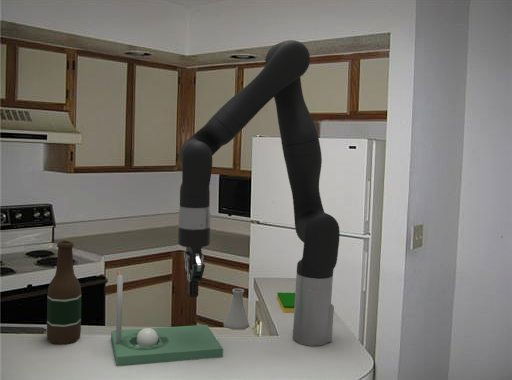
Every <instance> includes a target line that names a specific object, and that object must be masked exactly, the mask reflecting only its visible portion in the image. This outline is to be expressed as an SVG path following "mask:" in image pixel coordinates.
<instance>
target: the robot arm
mask: <svg viewBox="0 0 512 380" xmlns="http://www.w3.org/2000/svg"><path fill="white" fill-rule="evenodd" d="M264 61H265V62H264V67H263V69H262V70H261V71H260V72H259V73H258V74H257V75H256V76H255V78H253V79H252V80H251V81H250V82H249V83H248V84H247V85H246V86H245V87H244V88H242V89H241V90H240V91H238V92H237V93H236V94H234V95H233V96H232V97H231V98H230V99H229V100H227V102H225V103H224V105H222V106H221V107H220V108H219V109H218V110H217V111H216V112H215V113H214V114H213V115H212V117H211V118H210V119H208V121H207V122H206V123H205V125H204V126H202V127H201V128H200V129H198V130H197V132H195V133H194V134H193V135H192V136H190V137H189V138H188V139H187V140H186V141H185V142H184V143H183V144H182V146H181V147H180V149H179V154H178V158H179V161H180V163H181V164H182V166H181V170H182V171H181V172H182V173H181V177H182V178H181V179H182V181H181V184H180V186H179V187H180V188H179V209H178V216H177V217H178V218H177V219H178V222H177V223H178V224H177V226H178V228H177V229H178V230H177V232H178V233H177V237H178V238H177V244H178V245H180V247H183V248H186V249H185V251H184V252H183V260H184V261H183V262H184V268H185V271H184V272H185V276H186V279H187V283H188V284H187V285H188V286H187V295H188V296H189V297H190V298H197V297H199V282H201V281H202V279H203V275H204V271H205V268H206V264H205V263H203V261H204V258H205V257H204V253H203V252H202V249H203V247H208V246H209V245H210V243H211V212H210V211H211V210H210V209H211V207H210V205H211V204H210V200H211V199H210V196H211V195H210V194H211V193H210V184H211V180H212V179H211V177H212V171H213V156H214V155H215V154H216V153H217V152H218V151H219V149H221V148H222V147H223V146H225V145H227V144H228V143H230V142H231V141H232V140H233V139H234V138H235V137H236V136H237V135H238V134H239V133H240V132H241V131H242V130H244V128H245V127H246V126H247V125H248V124H249V123H250V121H251V120H252V119H253V118H254V117H255V116H256V115H257V114H258V113H259V112H260V111H261V110H262V108H264V107H265V106H266V105H267V104H268V103H270V101H271V100H272V99H273V98H274V102H275V103H274V104H275V109H276V115H277V121H278V123H277V124H278V129H279V135H280V140H281V141H280V142H281V147H282V154H283V159H284V163H285V167H286V171H287V178H288V182H289V185H290V191H291V195H292V204H293V213H294V214H293V217H294V218H293V219H294V227H295V232H296V235H297V237H298V238H299V240H300V241H301V242H302V243H303V250H302V258H301V259H300V260H299V261H298V262H297V264H296V275H295V276H296V277H295V292H294V293H295V307H294V313H293V324H292V325H293V326H292V328H293V329H292V340H293V341H295V342H296V343H298V344H301V345H305V346H310V347H311V346H312V347H313V346H314V347H316V346H323V345H326V344H327V343H331V342H333V341H332V340H333V330H334V328H333V327H334V326H333V325H334V313H335V311H334V310H335V305H333V303H332V295H333V280H334V271H335V270H334V269H335V268H336V265H337V263H338V256H339V246H340V245H339V244H340V235H341V234H340V226H339V223H338V221H337V219H336V218H334V217H333V216H332V215H330V214H329V213H326V212H325V209H324V206H323V202H322V198H321V193H320V179H321V170H322V162H323V161H322V160H323V159H322V148H321V143H320V138H319V134H318V130H317V127H316V124H315V121H314V119H313V117H312V114H311V113H310V111H309V108H308V107H307V104H306V100H305V98H304V95H303V94H304V93H303V89H302V80H301V77H303V75H305V73H306V72H307V70H308V69H309V67H310V62H311V55H310V52H309V49H308V48H307V46H306V45H305V44H303V43H302V42H300V41H299V40H293V39H292V40H291V39H290V40H288V39H287V40H283V41H282V42H278V43H277V44H275V45H273V46H272V47H270V49H269V50H267V53H266V56H265V59H264Z"/></svg>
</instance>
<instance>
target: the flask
mask: <svg viewBox="0 0 512 380" xmlns="http://www.w3.org/2000/svg"><path fill="white" fill-rule="evenodd" d="M244 292H245V289H243V288H233V289H232V301H231V304H230V306H229V309H228V312H227V314H226V316H225V318H224V321H223V327H224V328H225V329H229V330H235V331H236V330H237V331H244V330H246V329H248V328H250V324H249V323H250V322H249V319H248V316H247V313H246V310H245V305H244V298H243V297H244Z"/></svg>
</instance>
